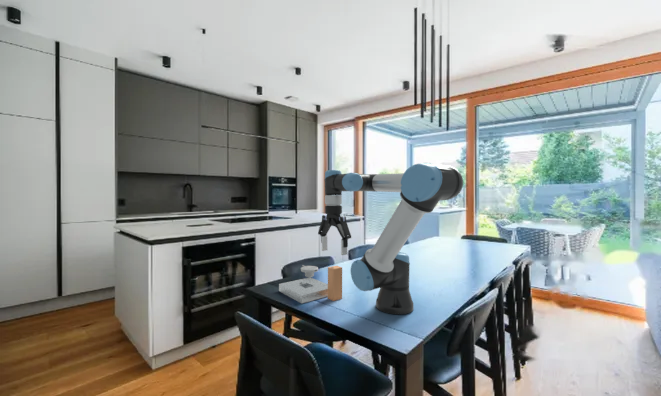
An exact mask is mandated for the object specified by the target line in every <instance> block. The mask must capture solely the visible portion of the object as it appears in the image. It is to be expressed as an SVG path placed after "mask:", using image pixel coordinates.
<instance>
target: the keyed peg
mask: <svg viewBox="0 0 661 396" xmlns="http://www.w3.org/2000/svg"><path fill="white" fill-rule="evenodd" d="M327 284H328V297H327V299H328V300H330V301H333V302H335V301H338V300H342V299H343V267H342V266H339V265H333V266H328V267H327Z"/></svg>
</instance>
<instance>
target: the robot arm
mask: <svg viewBox="0 0 661 396" xmlns="http://www.w3.org/2000/svg"><path fill="white" fill-rule="evenodd" d="M463 186H464V179H463V175H462V174H461V172H460V171H459V170H458V169H457V168H456V167H454V166H451V165H447V164H437V163H436V164H434V163H431V162H423V163H416V164H413V165H411V166H409V167H408V168H407V169H406V170H405V171H404V173H403V172H402V173H378V174H376V173H371V174H368V173H365V174H364V173H358V172H347V173H342V170H339V169H329V170H326V171H324V204H325V206H324V212H325V214H324V215H323V214H322V215H321V221H320V225H319V228H318V233H317V235H320V241H321V251H322V252H325V251H328V232H329V231H330V228H331V227H335V228H336V229H337V231H338V234H339V235H340V237H341V239H340V255H341V256H346V255H348V246H349V245H348V241H349V239H352V235H351V232H350V229H349V226H348V223H347V217H346V216H345V215H344V216H341V214H342V213H343V206H342V203H343V192H382V193H383V192H385V193H399V196H400V199H401V200H400V202H399V204H397V207H396V208H395V210H394V212H393V214H392V215H391V217H390V219H389V220H388V222H387V223H386V226H385V227H384V229H383V231H381V234H380V235H379V237H378V238H377V240H376V242H375V244H374V246H373V247H372V248H368V249H367V250H366V251H365V252H364V254H363V256H362V257H361V258H360V259H356V260H355V261H353V262H352V263H351V266H350V275H351V279H352V282H353V284H354V285H355V287H356V288H357V289H358V290H359V291H362V292H369V291H371V292H372V291H373V290H376V289H379V291H378V293H377V297H376V301H375V308H376V309H377V310H378V311H381V312H383V313H386V314H389V315H390V314H391V315H406V314H411V313H412V312H413V311H414V302H413V301H414V300H413V299H412V295H411V294H412V293H411V292H410V265H411V263H410V256H409V254H408V253H405V252H402V251H401V250H402V248H403V247H404V245H405V244H406V243H407V241H408V239H409V238H410V237H411V235H412V233H414V230H415V229H416V227H417V226H418V224H419V223H420V221H421V220H422V218H423V217H424V215H425V214H430V213H432V212H433V210H434V209H435V208H436V206H437V205H438V204H439V202H441V201H449V200H451V199H453V198H456V197H457V196H458V195H460V193H461V191H462V189H463Z"/></svg>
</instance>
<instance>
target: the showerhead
mask: <svg viewBox="0 0 661 396" xmlns="http://www.w3.org/2000/svg"><path fill="white" fill-rule="evenodd" d="M318 271H319V267H318V266H316V265H304V264H302V265H301V267H300V272H301V273H304V277H305V278H309V277H311V278H313V277H314V276H315V273H317V272H318Z"/></svg>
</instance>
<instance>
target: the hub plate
mask: <svg viewBox="0 0 661 396" xmlns="http://www.w3.org/2000/svg"><path fill="white" fill-rule="evenodd" d="M278 291H279V292H280V293H282V294H283V295H285V296H287V297H288V298H290V299H293V300H294V301H297V303H300V304H301V305H302V304H305V303H309V302H313V301H316V300H320V299H325V298H328V283H326V282H323V281H320V280H319V279H315V278H313V277H309V278H307V277H305V278H299V279H295V280H292V281H287V282H282V283H279V284H278Z"/></svg>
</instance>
